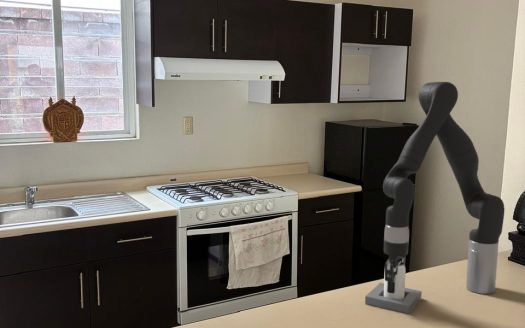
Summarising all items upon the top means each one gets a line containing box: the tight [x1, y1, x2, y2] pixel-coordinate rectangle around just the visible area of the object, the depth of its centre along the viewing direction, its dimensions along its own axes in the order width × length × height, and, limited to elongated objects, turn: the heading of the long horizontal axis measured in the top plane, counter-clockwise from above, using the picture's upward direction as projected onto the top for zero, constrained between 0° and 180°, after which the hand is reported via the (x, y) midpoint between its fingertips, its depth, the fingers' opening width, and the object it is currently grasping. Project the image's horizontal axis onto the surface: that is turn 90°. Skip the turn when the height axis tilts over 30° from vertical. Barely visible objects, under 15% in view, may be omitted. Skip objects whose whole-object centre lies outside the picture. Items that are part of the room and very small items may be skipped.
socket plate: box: [364, 282, 423, 315], centre depth 171 cm, size 14×14×2 cm
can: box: [383, 260, 406, 300], centre depth 170 cm, size 6×6×12 cm
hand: (394, 288), depth 171 cm, fingers closed on can, 6 cm apart
